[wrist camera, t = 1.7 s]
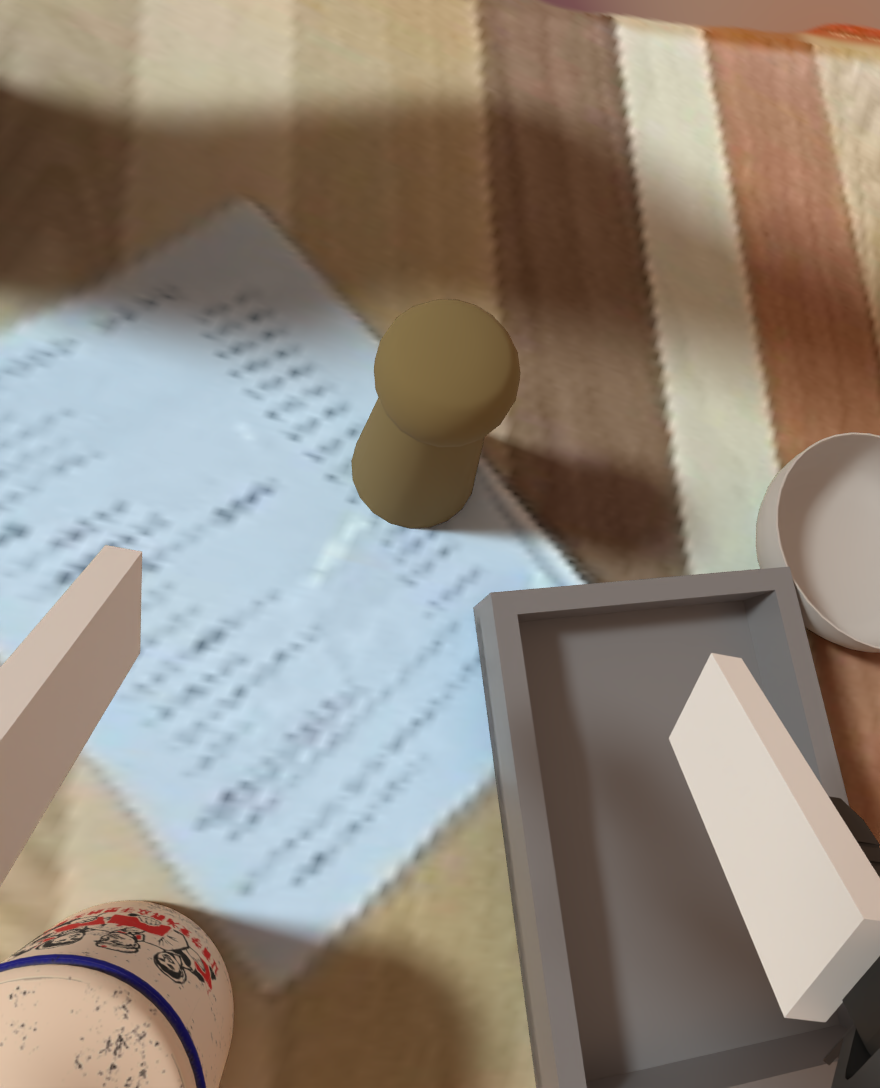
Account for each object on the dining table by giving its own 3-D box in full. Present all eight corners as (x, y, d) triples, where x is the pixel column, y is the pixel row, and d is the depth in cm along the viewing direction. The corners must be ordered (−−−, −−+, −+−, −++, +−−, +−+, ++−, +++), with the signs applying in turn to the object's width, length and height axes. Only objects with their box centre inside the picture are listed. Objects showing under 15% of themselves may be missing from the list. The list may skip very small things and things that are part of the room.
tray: (473, 607, 32) (490, 592, 29) (745, 582, 35) (789, 566, 32) (539, 1109, 27) (569, 1160, 24) (850, 1036, 30) (915, 1074, 27)
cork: (327, 445, 33) (330, 311, 23) (433, 391, 35) (481, 244, 25) (393, 551, 33) (428, 463, 22) (498, 491, 34) (577, 382, 24)
